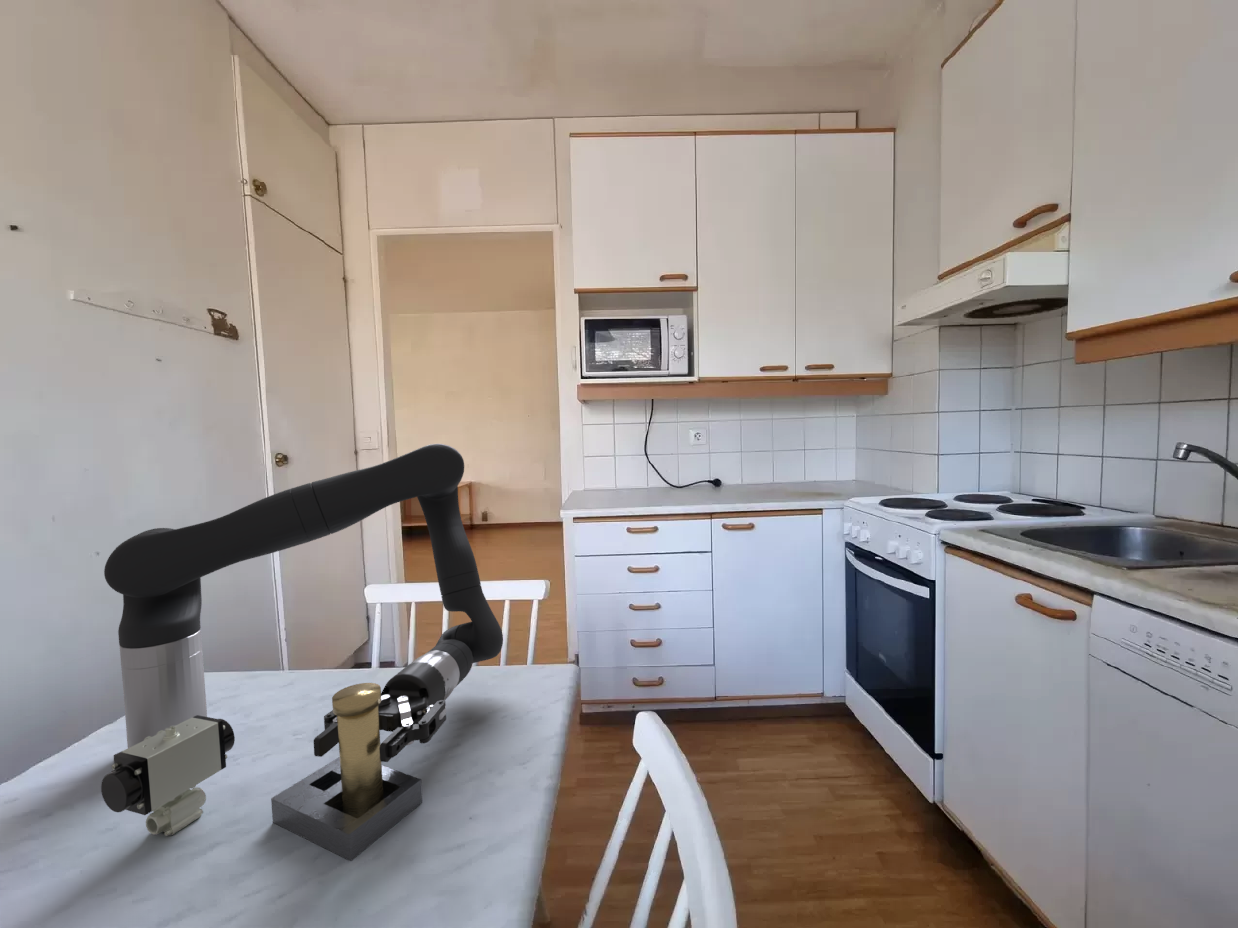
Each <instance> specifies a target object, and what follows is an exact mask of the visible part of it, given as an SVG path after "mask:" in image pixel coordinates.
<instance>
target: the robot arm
mask: <svg viewBox="0 0 1238 928" xmlns="http://www.w3.org/2000/svg"><path fill="white" fill-rule="evenodd" d="M464 472H465V461H464V458H463V456H462V454H461V453H460V451H458V449H456V448H454V447H452V446H450V445H448V444H443V443H430V444H427V445H424V446H422V447H419V448H417V449H414V450H412V451H409V452H408V453H405V454H403V455H399V456H397V457H396V458H393V459H390V460H388V461H385V462H383V463H379V464H377V465H373V466H369V467H366V468H361V469H357V470H352V471H348V472H345V473H342V474H337V475H334V476H331V477H326V478H323V479H319V480H316V481H315V480H314V481H312V482H309V483H305V484H301V485H298V486H295V487H291V488H288V489H285V490H283V491H280V492H279V491H278V492H277V493H275V494H271V495H269V496H267V497H264V498H262V499H261V498H260V499H258V500H257V501H255V502H252V503H249V504H247V505H246V506H243V507H241V508H239V509H237V510H235V511H232V512H230V513H228V514H225V515H223V516H221V517H217V518H215V519H211V520H208V521H204V522H201V523H196V524H193V525H187V526H184V527H180V528H176V529H174V528H169V527H157V528H151V529H147V530H145V531H142V532H140V533H137V534H136V535H134V536H132V537H130V538H128V539H126V540H124V541H123V542H122V543H120V544H119V545H117V546H116V547H115V549H114V550H113V551H112V552H111V553H110V555H109V556H108V558H107V560H106V563H105V565H104V570H103V573H104V574H103V575H104V579H105V582H106V583H107V585H108V586H109V587H110V588H111V589H112V590H114V591H115V592H116V593H119V594H121V595H122V598H123V599H122V600H123V608H122V615H121V619H120V622H119V626H118V629H117V630H118V631H117V633H118V646H119V656H120V658H119V659H120V666H121V679H122V680H121V681H122V691H123V693H122V694H123V706H124V716H125V717H124V718H125V728H126V729H125V730H126V744H127V749H128V748H130V747H132V746H134V745H136V744H138V743H140V742H142V741H144V739H145V738H146V737H148V736H151V737H153V736H155V735H156V734H157V733H158V732H159V731H161V730H163V731H165V729H166V728H170V726H176V725H178V724H180V723H182V722H184V721H186V720H188V719H190V718H192V717H194V716H196V715H199V716H205V717H208V708H207V694H206V681H205V669H204V665H205V664H204V655H203V641H202V630H201V628H202V627H201V613H202V605H203V604H202V601H203V599H202V582H201V581H202V579H201V578H203V577H204V576H207V575H210V574H211V573H214V572H217V571H219V570H222V569H224V568H226V567H229V566H231V565H234V564H237V563H240V562H243V561H247V560H251V559H255V558H259V557H262V556H266V555H270V554H273V553H276V552H280V551H285V550H286V549H290V548H294V547H296V546H300V545H303V544H306V543H309V542H313V541H315V540H319V539H322V538H324V537H327V536H330V535H333V534H336V533H338V532H340V531H342V530H345V529H348V528H349V527H351V526H353V525H355V524H357V523H359V522H361V521H363V520H364V519H365V520H366V519H367V518H369V517H370V516H372V515H373V514H374V515H375V513H377V512H379V511H381V510H383V509H385V508H387V507H390V506H391V505H394V504H397V503H399V502H404V501H407V500H410V499H414V498H417V500H418V503H419V505H420V507H421V510H422V513H423V516H424V518H425V519H424V520H425V522H426V526H427V530H428V534H429V538H430V542H431V543H430V544H431V549H432V554H433V559H434V565H435V571H436V572H435V573H436V575H437V581H438V587H439V591H440V595H441V600H442V605H443V607H444V610H446V611H448V612H452V613H453V612H454V613H455V612H463V613H465V614H466V615H467V616H468V618H469V619H470V620H471V621H468V622H465V623H461V624H457V625H454V626H451V627H449V628H448V629H447V630H445V631H444V632H443V633H442V634H441V635H440V636H439V637H440V638H439V639H438V641H436V643H435V645H434V646H433V647H432V648H431V649H430V650H428V651H427V652H426V653H425V654H424V653H423V654H422V655H421V656H418V657H417V658H416V659H414V660H413V661H412V662H411V663H409V664H408V665H406V666H405V667H404V668H403V669H401V670H400V671H399V672H397V673H396V674H395V675H393V676H392V677H391V678H390V679H389V680H388V681H387V682H386V683H385V685H384V687H383V689H382V690H381V703H380V704H379V705H378V712H379V729H380V731H386V732H390V734H389V735H388V736H387V737H386V738H385V739H384V740H383V741H382V742H380V761H381V763H388V762H389V761H390V760H391V759H393V758H394V757H396V756H398V755H399V753H401V751H403V749H404V748H405V747H406V746H410V745H412V744H414V742H415V741H419V743H420V744H426V743H428V742H430V741H431V739H433V737H434V736H435V734H436V733H437V732H438V731H439V729H440V728H441V727H442V726H443V725H444V723H445V721H446V720H447V706H446V700H447V699H448V698H449V697H450V696H451V694H452V693H453V691H454V690H455V689H456V688H457V686H458V685H459V684H460V683H462V681H463V680H464V679H466V677H467V676H468V675H469V673H470V672H471V669H472V667H473V664H475V663H479V662H484V661H488V660H491V659H494V658H496V657H498V655H499V654H500V653H501V650H502V648H503V644H504V635H503V630H502V628H501V625H500V624H499V621H498V620H497V618H496V616H495V614H494V613H493V610H492V608H491V607H490V604H489V603H488V601H487V599H486V598H487V597H486V596H485V593H484V592H483V588H482V584H481V579H480V575H479V570H478V565H477V563H476V559H475V556H474V552H473V549H472V546H471V544H470V541H469V539H468V536H467V534H466V531H465V527H464V524H463V520H462V516H461V511H460V505H459V484H460V482H461V481H462V479H463V476H464ZM323 723H324V730H323V731H322V732H321V733H319V734H318V735H316V736H315V737H314V738H313V754H314V757H317V758H318V757H319V758H322V757H324V755H326V754H327V753H328V752H329V751H330V750H332V749H333V748H335V746H337V744H338V745H339V738H338V722H337V715H335V714H334V713H333V709H332V710H330V711H329V712H328V713H326V714H324V716H323Z"/></svg>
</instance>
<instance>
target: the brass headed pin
mask: <svg viewBox="0 0 1238 928" xmlns="http://www.w3.org/2000/svg"><path fill="white" fill-rule="evenodd" d="M381 689H382V687H381V686H380V685H379V684H378V683H376V682H375V683H374V682H361V683H355V684H352V685H349V686H347V687H344V688H342V689H340V690H338V691H336V692H335V693H334V694H333V696H331V697H332V698H331V701H332V702H331V703H332V705H331V706H332V710H333V713H334V714H335V715H337V717H336V718H337V722H338V738H339V743H338V752H339V757H340V770H341V785H342V801H343V813H346V814H348V815H350V816H352V817H355V818H357V819H358V818H359V817H361V816H362V815H363V814H365V813H366V812H367V811H369V810H370V809H371V808H373V807H374V806H375V805H377V804H378V803H379V802H381V801H382V800H383V799H384V797H383V780H382V765H383V762H381V761H380V745H381V733H380V732H381V730H380V729H379V712H378V705H379V704H380V703H381V693H382V690H381Z"/></svg>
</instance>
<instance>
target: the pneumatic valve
mask: <svg viewBox="0 0 1238 928" xmlns="http://www.w3.org/2000/svg"><path fill="white" fill-rule="evenodd" d="M235 738H236V737H235V732H234V729H233V727H232V725H231V724H230V723H229V722H228V721H226V720H225V719H223V718H214V717H209V716H207V717H205V716H199V715H196V716H194V717H192V718H190V719H188V720H186V721H184V722H182V723H180V724H178V725H176V726H170V728H166V729H165V731H163V730H161V731H159V732H158V733H157V734H156V735H155V736H153V737H151V736H148V737H146V738H145V739H144V741H142V742H140V743H138V744H136V745H134V746H132V747H130V748H128V747H127V748H126V749H123V750H121V751H120V752H117V753H115V754H114V755H113V764H112V765H111V769H112V770H111V772H109V773H107V774H106V775H104V777H103V778H102V781H101V786H100V788H101V790H100V791H101V795H102V799H103V801H104V803H105V805H106V806H107V807H108V809H110V810H111V811H112V812H115V813H121V812H123V811H128V812H131V813H136V814H139V815H142V816H146V815H148V814H149V815H148V816H147V817H146V819H145V828H146V830H147V831H148V832H149V834H151V835H153V836H154V835H156V836H157V835H160V834H161V833H163V834H164V836H165V837H168V836H173V835H175V834H176V833H178V832H179V831H181V830H183V829H184V828H186V827H188V826H189V825H190V824H191V823H193V822H195V821H196V820H197V819H200V818H201V817H202V814H203V813H204V810H203V809H202V807H204V805H205V803H206V801H207V796H206V793H205V791H204V789H202V788H201V787H197V785H199V784H201V783H202V782H204V781H205V780H207V779H209V778H210V777H212V776H214V775H215V774H217V773H219V772H220V771H222V770H224V769H225V768H227V758H228V754H226V753H228V752H230V751H231V750H232V749H233V747H234V745H235Z"/></svg>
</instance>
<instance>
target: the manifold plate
mask: <svg viewBox="0 0 1238 928" xmlns="http://www.w3.org/2000/svg"><path fill="white" fill-rule="evenodd" d="M382 780H383V797H384V799H383V800H382V801H381V802H379V803H378V804H377V805H375V806H374V807H373V808H371V809H370V810H369V811H367V812H366V813H365V814H363V815H362V816H361V817H359V818H358V819H357V818H355V817H352V816H350V815H348V814H346V813H343V801H342V785H341V770H340V756H339V757H336V758H335V759H333V760H332V761H330V762H329V763H327V764H325V765H324V766H323V767H321V768H319V769H317V770H316V771H314V772H312V773H311V774H308V775H307V776H306V777H304V778H303V779H301V780H299V781H297V782H296V783H294V784H293V785H290V786H289V787H288V788H286V789H285V790H283V791H281V792H279V793H278V794H276V795H274V796H273V797H271V798H270V799H271V812H272V813H271V815H272V823H273V824H275V825H277V826H279V827H281V828H282V829H285V830H287V831H289V832H291V833H293V834H295V835H298V836H299V837H301V838H302V839H304V840H308V841H310V842H311V843H313V844H316V845H318V846H319V847H321V848H323V849H325V850H328V851H329V852H331V853H334V854H335V855H336V856H337V855H338V856H340V857H342V858H344V859H345V860H348V861H350V862H351V861H353V859H355V858H356V857H357V856H359V854H361V853H362V852H364V851H365V850H366V849H367V848H368V847H370V846H371V845H372V844H373V843H375V842H376V841H377V840H378V839H379V838H381V837H382V836H383V835H384V834H385V833H387V832H388V831H389V830H390V829H392V828H393V827H395V826H396V825H397V824H398V823H399V822H400V821H401V820H403V819H404V818H406V817H407V815H409V814H410V813H411V812H412V811H414V810H415V809H417V807H419V806H420V805H421V804H422V803H423V793H422V791H423V789H422V779H421V778H418V777H417V776H416V777H415V776H414V775H409V774H408V773H404V772H401V771H399V770H396V769H393V768H390V767H389V766H385V765H383V764H382Z"/></svg>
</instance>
